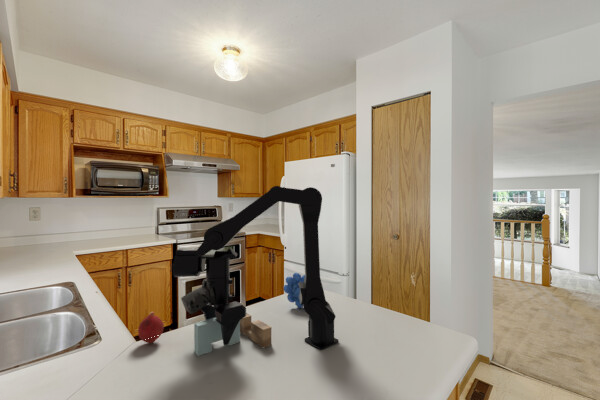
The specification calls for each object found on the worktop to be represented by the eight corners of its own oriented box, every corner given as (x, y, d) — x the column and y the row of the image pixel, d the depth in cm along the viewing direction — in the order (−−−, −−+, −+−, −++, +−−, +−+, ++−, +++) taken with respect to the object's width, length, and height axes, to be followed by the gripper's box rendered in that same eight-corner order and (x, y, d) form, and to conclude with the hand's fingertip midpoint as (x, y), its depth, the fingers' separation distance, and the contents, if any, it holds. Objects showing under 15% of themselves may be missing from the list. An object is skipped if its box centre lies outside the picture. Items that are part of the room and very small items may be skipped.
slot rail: (271, 345, 74) (271, 327, 74) (263, 348, 72) (263, 329, 72) (241, 325, 86) (241, 309, 86) (233, 327, 85) (233, 311, 85)
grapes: (281, 311, 96) (281, 275, 96) (284, 304, 103) (284, 270, 103) (316, 312, 95) (316, 276, 95) (317, 305, 102) (317, 271, 102)
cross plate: (240, 341, 76) (239, 314, 76) (198, 356, 69) (197, 326, 69) (235, 338, 78) (235, 312, 78) (194, 352, 71) (194, 323, 71)
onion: (153, 350, 72) (152, 317, 72) (132, 347, 73) (132, 315, 73) (168, 339, 77) (168, 309, 78) (149, 337, 79) (149, 307, 79)
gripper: (173, 274, 75) (173, 334, 75) (199, 290, 61) (200, 365, 61) (214, 267, 83) (214, 323, 82) (247, 280, 68) (247, 348, 68)
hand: (218, 337), depth 73 cm, fingers open, 9 cm apart
